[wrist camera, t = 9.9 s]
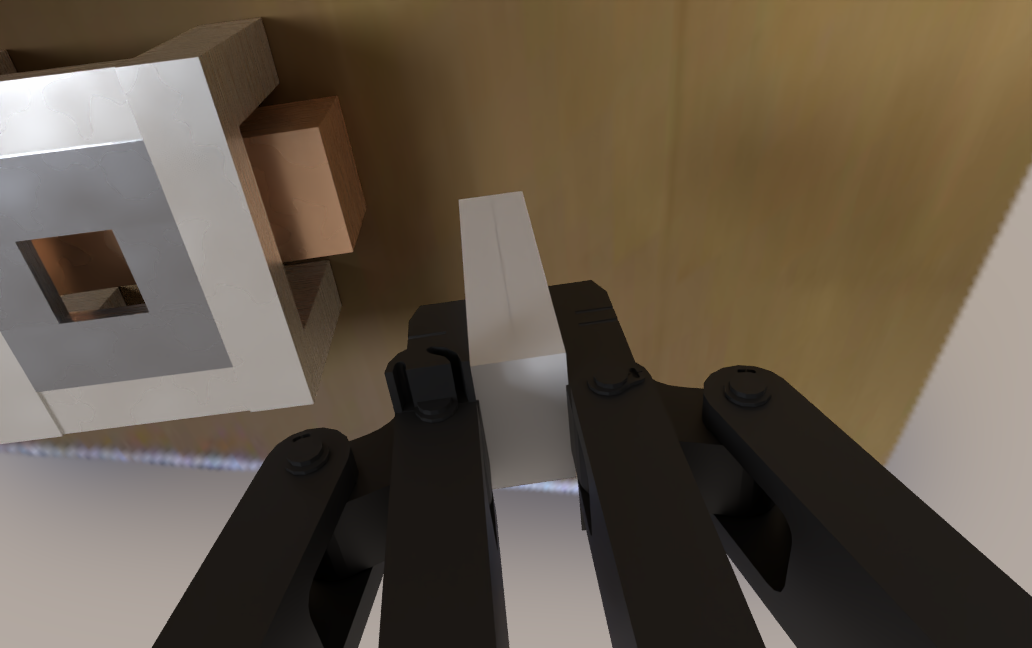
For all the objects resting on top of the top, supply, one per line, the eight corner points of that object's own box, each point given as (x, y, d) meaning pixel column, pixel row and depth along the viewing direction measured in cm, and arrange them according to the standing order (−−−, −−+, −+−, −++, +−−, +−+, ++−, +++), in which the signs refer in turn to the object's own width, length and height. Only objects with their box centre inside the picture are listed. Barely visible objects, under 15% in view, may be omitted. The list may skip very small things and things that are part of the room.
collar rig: (87, 338, 27) (-1, 444, 22) (-58, 57, 22) (-222, 110, 17) (341, 305, 27) (313, 403, 22) (261, 17, 22) (198, 57, 17)
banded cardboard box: (48, 257, 26) (-19, 316, 22) (-16, 139, 23) (-103, 183, 20) (368, 209, 26) (353, 261, 22) (337, 86, 23) (314, 121, 20)
